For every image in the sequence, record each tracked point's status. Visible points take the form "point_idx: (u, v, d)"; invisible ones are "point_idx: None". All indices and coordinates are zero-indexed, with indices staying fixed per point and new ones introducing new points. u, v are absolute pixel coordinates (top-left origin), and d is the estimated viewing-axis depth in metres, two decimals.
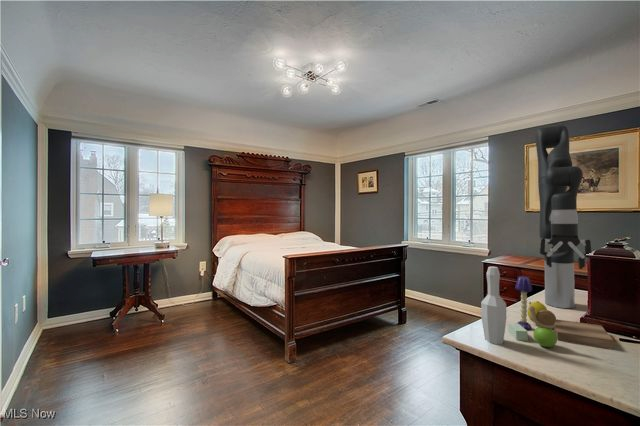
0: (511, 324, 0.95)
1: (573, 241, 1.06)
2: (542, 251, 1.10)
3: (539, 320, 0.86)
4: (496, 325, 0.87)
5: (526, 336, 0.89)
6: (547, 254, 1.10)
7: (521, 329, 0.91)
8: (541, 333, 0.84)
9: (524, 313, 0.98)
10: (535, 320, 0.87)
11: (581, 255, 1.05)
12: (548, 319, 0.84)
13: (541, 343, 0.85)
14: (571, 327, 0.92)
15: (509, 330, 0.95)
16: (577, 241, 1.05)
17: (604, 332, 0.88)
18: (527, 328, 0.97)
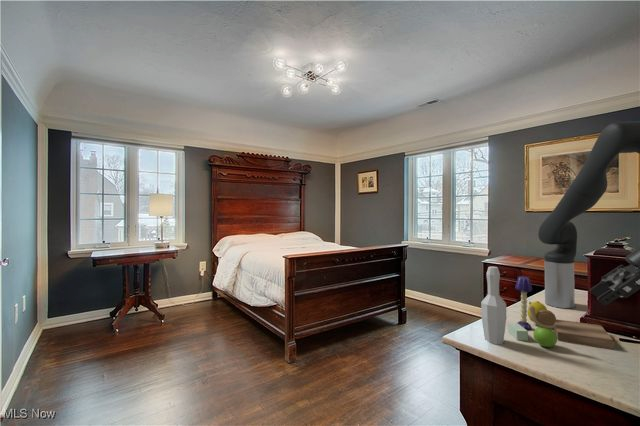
0: (511, 324, 0.95)
1: None
2: None
3: (539, 320, 0.86)
4: (496, 325, 0.87)
5: (526, 336, 0.89)
6: None
7: (521, 329, 0.91)
8: (541, 333, 0.84)
9: (524, 313, 0.98)
10: (535, 320, 0.87)
11: None
12: (548, 319, 0.84)
13: (541, 343, 0.85)
14: (571, 327, 0.92)
15: (509, 330, 0.95)
16: None
17: (604, 332, 0.88)
18: (527, 328, 0.97)
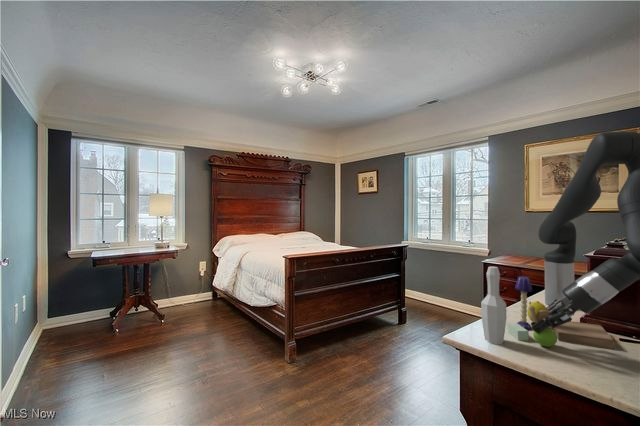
0: (510, 324, 0.95)
1: None
2: None
3: (539, 320, 0.86)
4: (496, 325, 0.87)
5: (527, 336, 0.90)
6: None
7: (522, 329, 0.91)
8: (541, 333, 0.84)
9: (524, 313, 0.98)
10: (535, 320, 0.87)
11: None
12: None
13: (541, 343, 0.85)
14: (571, 327, 0.92)
15: (509, 330, 0.95)
16: None
17: (604, 332, 0.88)
18: (527, 328, 0.97)
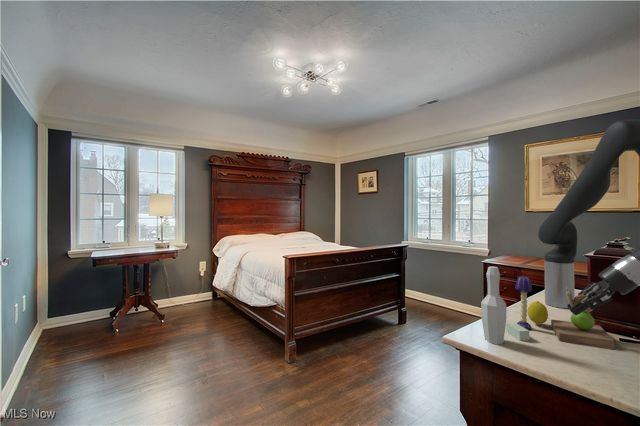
0: (510, 324, 0.95)
1: None
2: None
3: None
4: (496, 325, 0.87)
5: (528, 336, 0.90)
6: None
7: (522, 329, 0.91)
8: (580, 317, 0.90)
9: (524, 313, 0.98)
10: (572, 305, 0.92)
11: None
12: None
13: (580, 326, 0.90)
14: (571, 328, 0.92)
15: (508, 330, 0.94)
16: None
17: (604, 332, 0.88)
18: (527, 328, 0.97)
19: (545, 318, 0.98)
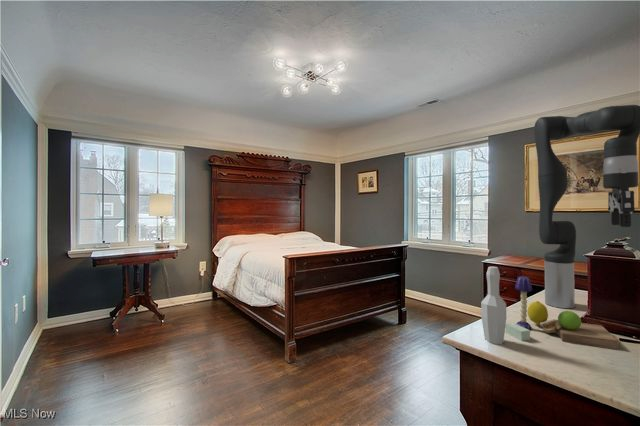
0: (509, 324, 0.94)
1: None
2: None
3: None
4: (496, 325, 0.87)
5: (529, 335, 0.90)
6: None
7: (523, 329, 0.91)
8: None
9: (524, 313, 0.98)
10: None
11: None
12: None
13: None
14: None
15: (508, 331, 0.94)
16: None
17: (607, 332, 0.88)
18: (527, 328, 0.97)
19: (545, 318, 0.98)
